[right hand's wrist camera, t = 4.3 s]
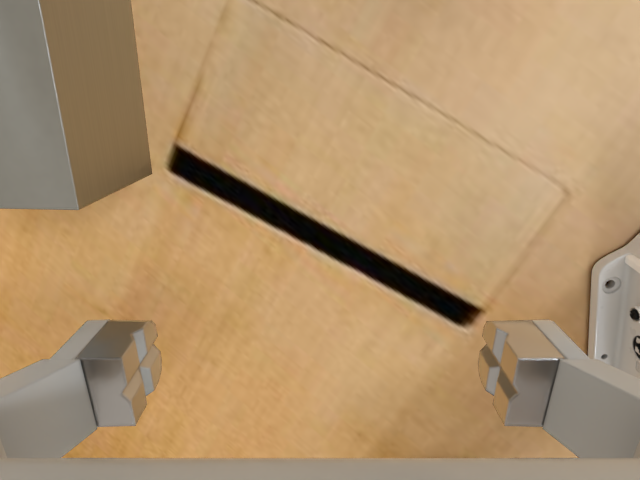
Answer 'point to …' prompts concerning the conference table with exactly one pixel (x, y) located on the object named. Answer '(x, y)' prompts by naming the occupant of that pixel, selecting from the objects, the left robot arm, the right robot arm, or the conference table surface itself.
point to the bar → (69, 103)
